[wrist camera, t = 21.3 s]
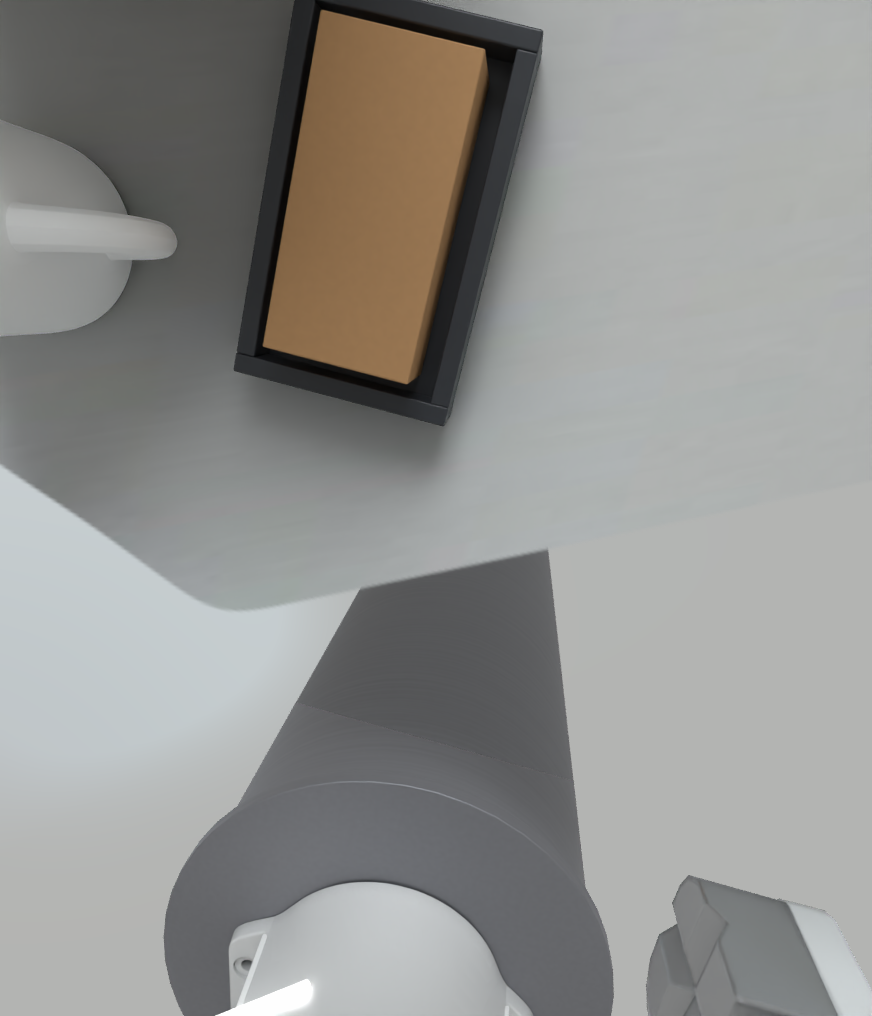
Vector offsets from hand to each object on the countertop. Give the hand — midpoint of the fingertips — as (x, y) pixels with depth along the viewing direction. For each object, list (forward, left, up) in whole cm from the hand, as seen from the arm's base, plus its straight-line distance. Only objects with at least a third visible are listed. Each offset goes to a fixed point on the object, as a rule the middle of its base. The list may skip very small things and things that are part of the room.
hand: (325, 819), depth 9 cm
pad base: (+8, +6, -27) cm, 28 cm away
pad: (+8, +6, -26) cm, 28 cm away
